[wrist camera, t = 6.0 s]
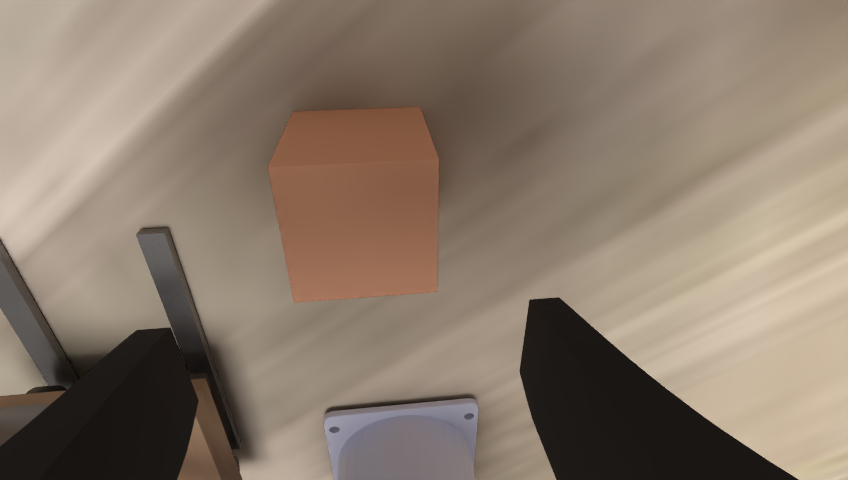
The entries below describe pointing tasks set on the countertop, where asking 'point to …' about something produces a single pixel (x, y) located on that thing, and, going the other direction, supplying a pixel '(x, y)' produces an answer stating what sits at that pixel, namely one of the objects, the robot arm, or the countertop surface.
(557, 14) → the countertop surface
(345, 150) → the terracotta block
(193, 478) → the cart
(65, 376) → the rails
